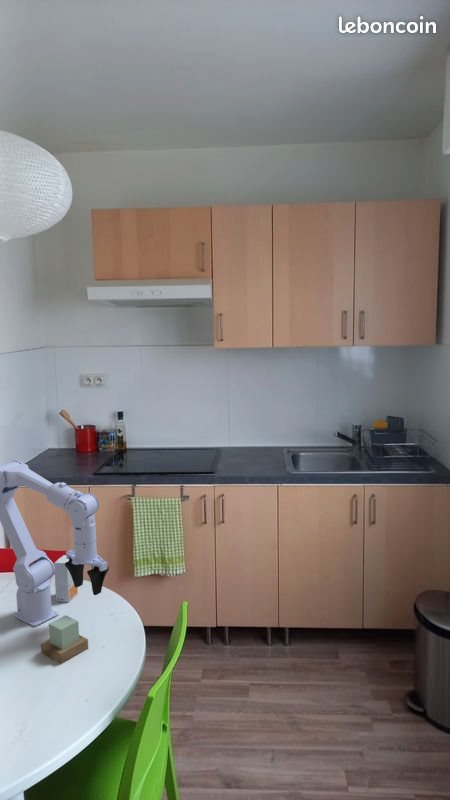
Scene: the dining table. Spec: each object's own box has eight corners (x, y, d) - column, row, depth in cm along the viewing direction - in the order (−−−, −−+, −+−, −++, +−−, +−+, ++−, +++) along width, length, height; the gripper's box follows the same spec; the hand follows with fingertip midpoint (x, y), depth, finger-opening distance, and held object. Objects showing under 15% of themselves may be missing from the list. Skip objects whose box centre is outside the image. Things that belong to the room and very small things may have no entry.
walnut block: (41, 654, 139) (40, 643, 139) (68, 640, 146) (67, 629, 145) (61, 665, 134) (60, 654, 134) (88, 650, 141) (87, 639, 140)
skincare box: (69, 602, 165) (66, 563, 163) (55, 601, 166) (53, 562, 164) (78, 593, 171) (76, 555, 169) (65, 592, 171) (63, 554, 170)
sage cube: (50, 642, 139) (48, 623, 138) (66, 633, 143) (65, 615, 142) (62, 649, 136) (61, 629, 135) (79, 640, 140) (78, 621, 139)
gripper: (55, 539, 149) (58, 588, 151) (90, 551, 141) (93, 603, 142) (77, 531, 155) (79, 578, 157) (112, 542, 146) (115, 592, 148)
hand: (87, 589), depth 150 cm, fingers open, 7 cm apart
